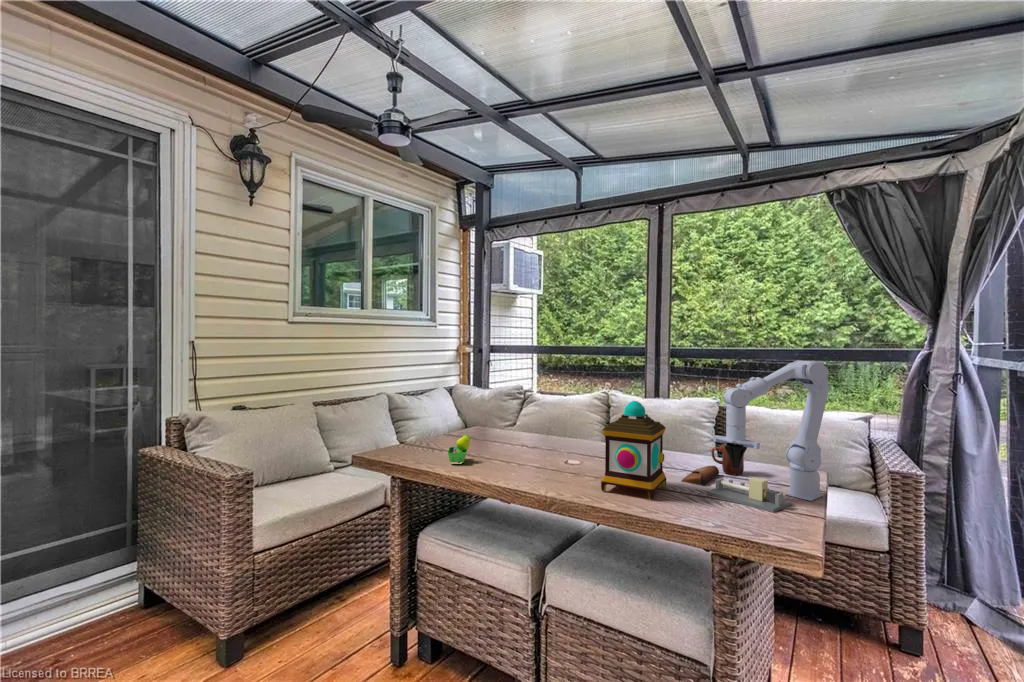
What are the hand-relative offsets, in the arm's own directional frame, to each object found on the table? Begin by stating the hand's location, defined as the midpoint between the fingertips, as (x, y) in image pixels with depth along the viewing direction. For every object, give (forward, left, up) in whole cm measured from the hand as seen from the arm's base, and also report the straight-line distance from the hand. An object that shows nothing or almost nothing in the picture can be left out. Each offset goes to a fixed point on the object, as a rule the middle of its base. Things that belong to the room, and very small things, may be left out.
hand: (735, 467), depth 156 cm
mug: (-25, -16, -10) cm, 31 cm away
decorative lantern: (+21, -24, -10) cm, 33 cm away
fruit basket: (+50, -90, -10) cm, 103 cm away
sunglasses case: (-9, -18, -10) cm, 23 cm away
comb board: (0, +4, -9) cm, 10 cm away
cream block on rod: (0, +7, -8) cm, 11 cm away
